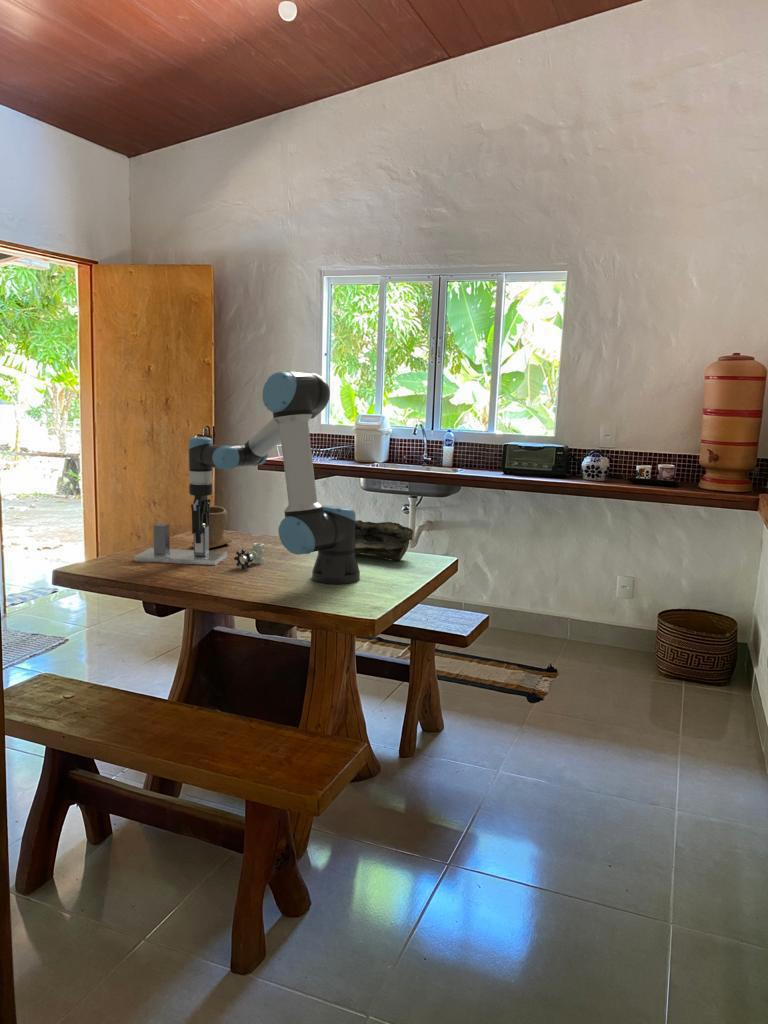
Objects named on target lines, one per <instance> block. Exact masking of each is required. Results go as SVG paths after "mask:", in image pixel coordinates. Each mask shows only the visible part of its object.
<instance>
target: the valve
mask: <svg viewBox="0 0 768 1024" xmlns="http://www.w3.org/2000/svg"><path fill="white" fill-rule="evenodd" d="M264 549H265V544H264V543H261V542H257V543H256V542H255V543H252V551H250V552H246V549H244V548H243V549H241V551H240V550H237V551H236V555H237V556H235V557H234V558H233V559H234V561H237V562H236V567H239V566H241V570H245V569H246V568H251V565H252V564H254V565H262V564H264V563H265V558H264V557H265V550H264ZM240 557H241V558H240ZM242 562H243V563H242ZM250 563H252V564H250Z"/></svg>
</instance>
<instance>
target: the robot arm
mask: <svg viewBox="0 0 768 1024" xmlns="http://www.w3.org/2000/svg"><path fill="white" fill-rule="evenodd" d="M261 394H262V397H261V398H262V401H263V405H264V406H265V407H266V409H267V410H268V411H270V412H271V413H272V419H270V420H269V421H268V422H267V423H266V424H265V425H264V426H263V427H261V429H259V430H258V431H257V433H255V434H254V435H253V436H252V437H250V438H249V440H248V441H246V442H245V443H239V444H224V445H222V444H221V445H219V444H218V445H217V444H213V441H212V438H210V437H207V436H206V437H205V436H195V437H191V438H189V440H188V468H189V469H188V470H189V472H187V476H189V477H188V478H189V479H188V480H189V486H188V489H189V492H188V493H189V495H190V496H194V500H193V503H191V504H190V509H191V528H192V529H191V530H192V531H191V534H192V535H194V534H195V552H200V553H203V533H202V526H203V523H205V526H209V527H210V506H211V499H210V498H209V499H208V496H211V495H212V494H213V484H212V482H213V468H215V469H219V470H232V469H233V470H234V468H240V467H242V468H243V467H251V466H252V467H256V466H260V465H263V464H265V463H266V461H267V458H268V455H269V454H268V453H270V452H271V451H273V450H274V449H275V448H276V447H277V446H278V445H279V444H280V443H281V451H282V460H283V467H284V477H285V485H286V492H287V502H288V505H287V507H286V508H285V509H284V518H283V519H281V521H280V524H279V526H278V531H277V532H278V537H279V540H280V543H281V545H282V546H283V547H284V548H285V549H286V550H287V551H288V552H289V553H290V554H294V555H310V554H311V553H315V552H317V556H316V559H315V561H314V565H313V568H312V572H311V579H312V580H313V581H315V582H318V583H322V584H330V585H331V584H332V585H342V584H344V585H345V584H352V583H355V582H358V581H359V580H360V578H361V577H360V576H361V573H360V572H361V571H360V568H359V565H358V561H357V558H356V556H355V530H356V521H357V519H356V518H357V517H356V511H355V510H354V508H350V507H344V506H335V505H322V504H321V503H319V501H318V498H317V497H318V496H317V487H316V479H315V472H314V470H315V469H314V464H313V463H314V461H313V455H312V454H313V452H312V446H311V437H310V436H311V435H310V427H309V421H310V420H311V419H315V417H317V416H318V415H320V413H322V412H323V411H324V410H325V409H326V407H327V406H328V404H329V401H330V397H331V390H330V386H329V384H328V382H327V381H326V379H325V378H324V377H323V376H321V375H319V374H318V373H314V372H299V371H288V370H287V371H277V372H274V373H273V374H271V375H270V376H268V378H267V380H266V381H265V382H264V384H263V389H262V393H261ZM209 530H210V528H209Z"/></svg>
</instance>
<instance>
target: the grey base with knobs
mask: <svg viewBox="0 0 768 1024" xmlns="http://www.w3.org/2000/svg"><path fill="white" fill-rule="evenodd" d="M152 527H153V547H150V548H147V549H146V550H144V551H142V552H140V553H139V554H136V555H134V556H133V561H134V562H141V563H142V562H143V563H144V562H146V563H160V564H161V563H162V564H163V563H167V564H181V565H182V564H186V565H204V566H205V565H206V566H217V564H220V562H221V561H223V560H224V559H225V558H226V557H228V551H220V550H209V554H207V555H206V556H197V555H194V549H177V548H171V547H170V544H171V543H170V523H156V524H153V526H152Z"/></svg>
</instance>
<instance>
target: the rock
mask: <svg viewBox="0 0 768 1024" xmlns="http://www.w3.org/2000/svg"><path fill="white" fill-rule="evenodd" d="M413 535H414V530H413V529H412V528H410V527H408V526H403V525H402V524H400V523H397V522H391V521H384V522H373V521H372V522H371V521H363V520H360V519H359V520H356V530H355V557H356V556H357V555H358V554H359V555H360V554H363V555H370V556H371V555H373V556H376V558H378V559H385V560H391V561H395V562H400V561H401V560H402V559H403V557H404V555H406V552H407V551H408V548H409V545H410V541H413Z"/></svg>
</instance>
